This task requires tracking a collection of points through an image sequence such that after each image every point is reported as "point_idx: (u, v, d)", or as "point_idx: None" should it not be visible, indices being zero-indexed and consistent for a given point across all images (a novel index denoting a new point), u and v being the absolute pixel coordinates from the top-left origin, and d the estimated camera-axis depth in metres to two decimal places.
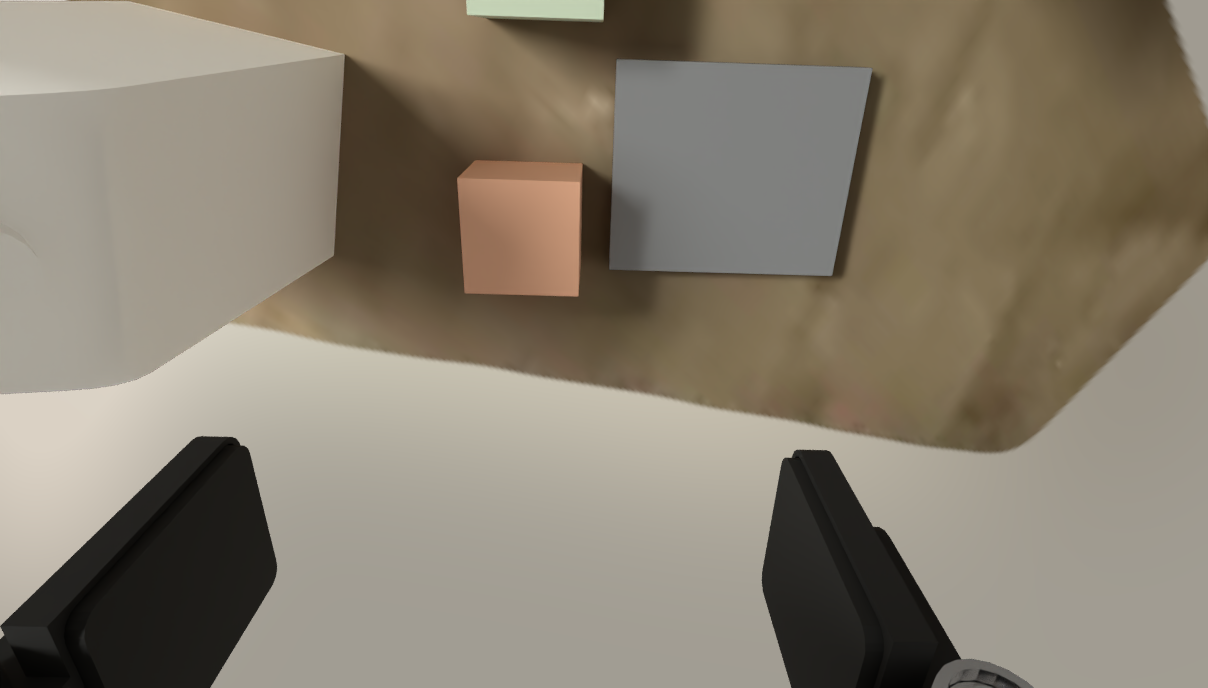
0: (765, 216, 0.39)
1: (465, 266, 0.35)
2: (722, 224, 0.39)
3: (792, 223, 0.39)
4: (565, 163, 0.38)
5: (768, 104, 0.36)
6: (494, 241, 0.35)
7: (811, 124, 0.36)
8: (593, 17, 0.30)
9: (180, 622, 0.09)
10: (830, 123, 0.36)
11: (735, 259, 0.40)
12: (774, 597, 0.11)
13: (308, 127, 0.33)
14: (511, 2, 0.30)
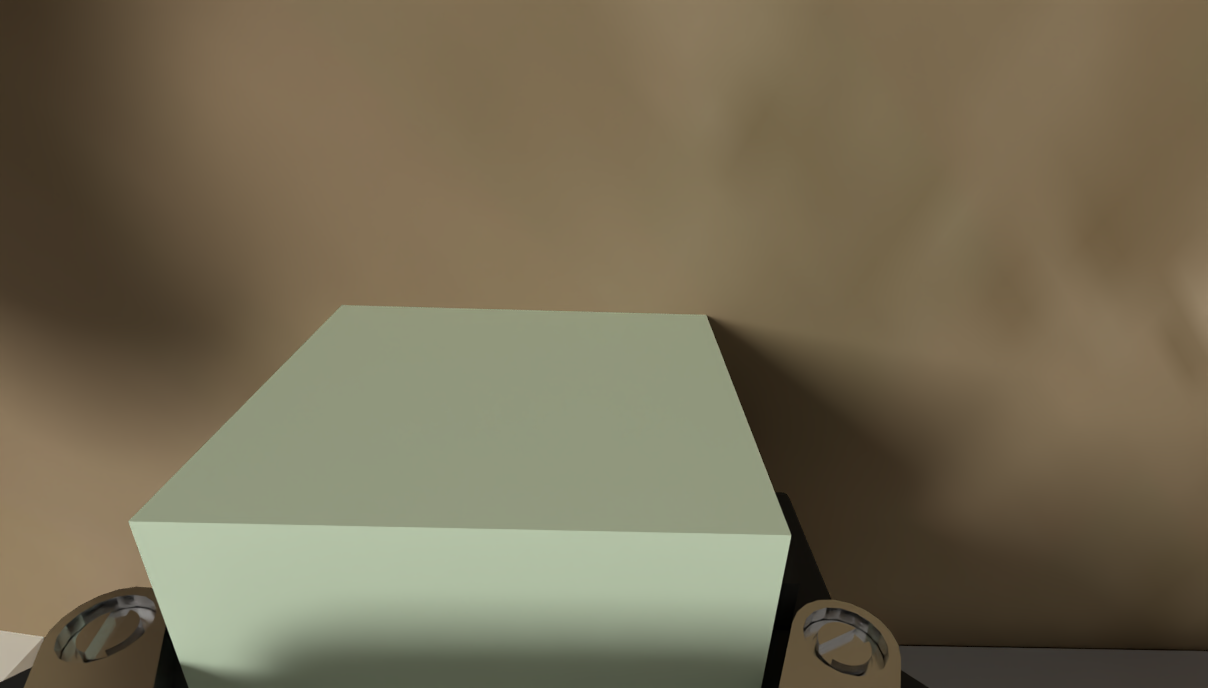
0: None
1: None
2: None
3: None
4: None
5: None
6: None
7: None
8: None
9: None
10: None
11: None
12: None
13: None
14: None
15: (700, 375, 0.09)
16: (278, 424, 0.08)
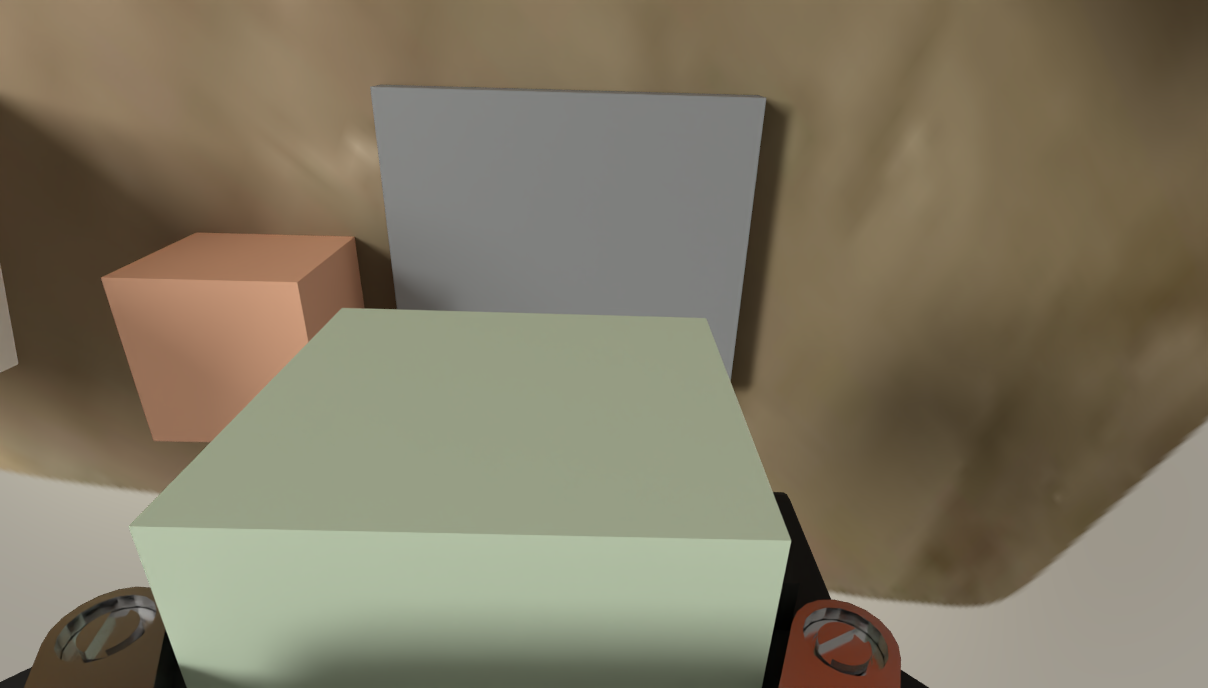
0: (624, 312, 0.26)
1: (145, 404, 0.23)
2: None
3: None
4: (327, 237, 0.26)
5: (611, 153, 0.24)
6: (181, 368, 0.22)
7: (680, 181, 0.24)
8: None
9: None
10: (708, 180, 0.24)
11: None
12: None
13: None
14: None
15: (700, 380, 0.09)
16: (279, 428, 0.08)
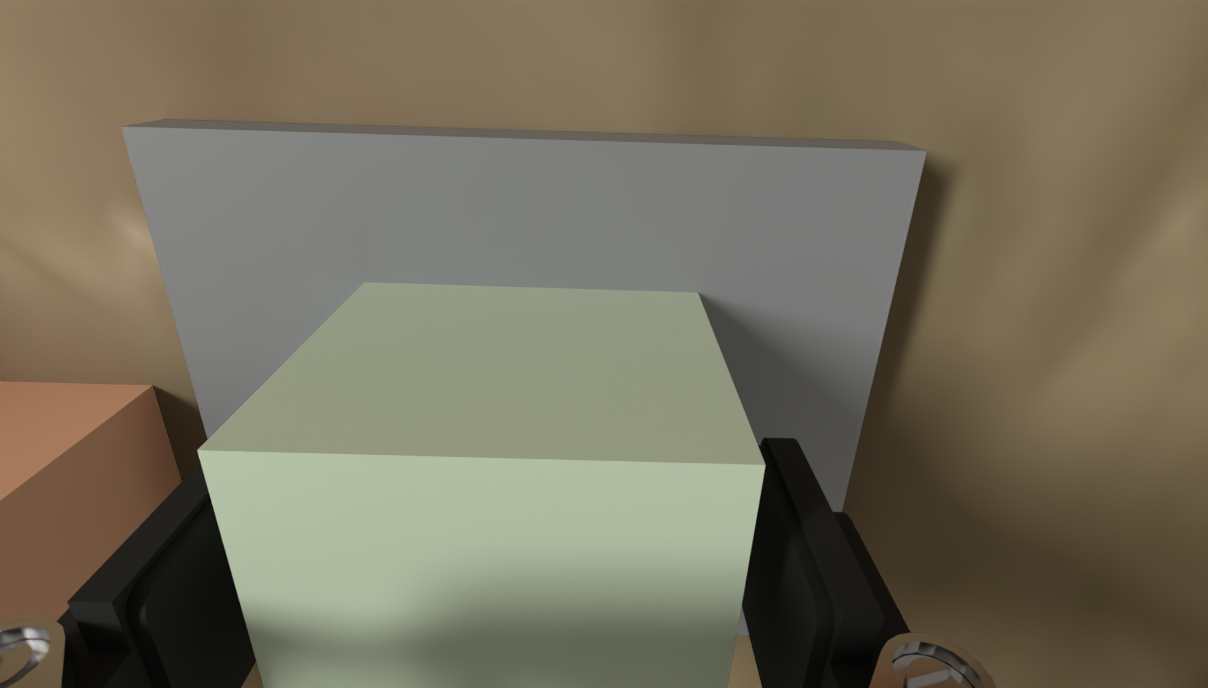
0: None
1: None
2: None
3: None
4: (101, 388, 0.14)
5: (614, 254, 0.12)
6: None
7: (744, 306, 0.12)
8: None
9: (226, 603, 0.09)
10: (800, 304, 0.12)
11: None
12: None
13: None
14: None
15: (690, 342, 0.10)
16: (317, 377, 0.09)
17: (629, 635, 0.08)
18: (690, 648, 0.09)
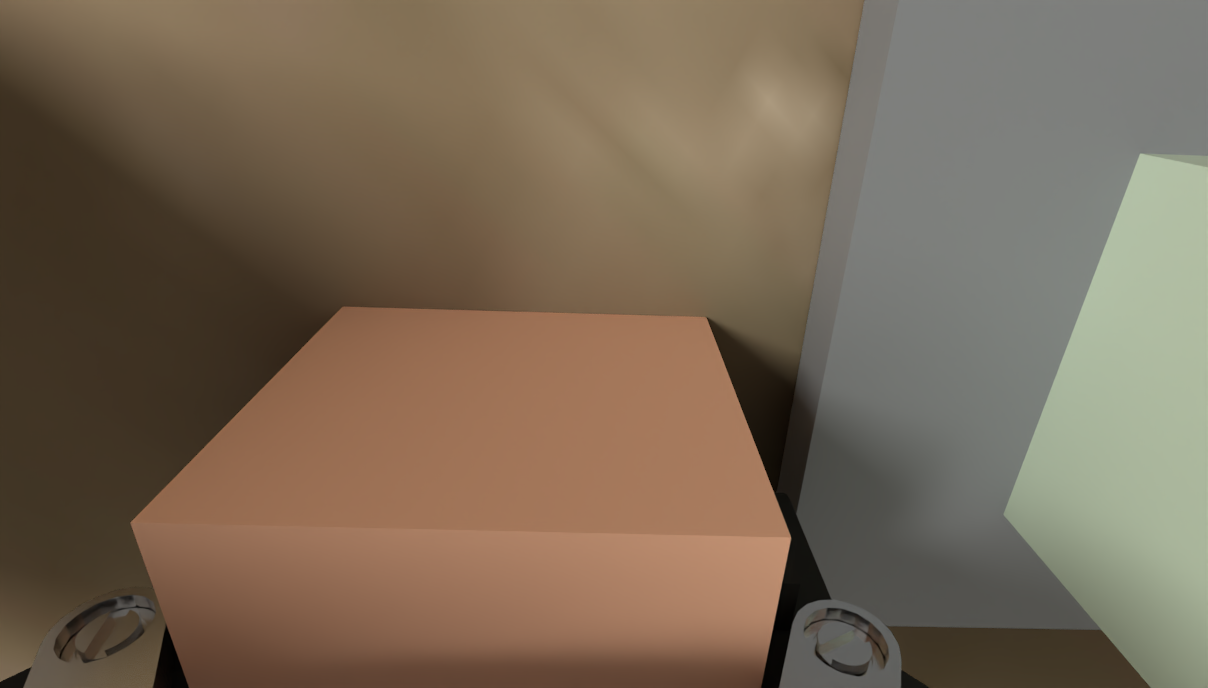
0: None
1: None
2: None
3: None
4: (650, 322, 0.11)
5: None
6: None
7: None
8: None
9: None
10: None
11: None
12: None
13: None
14: None
15: None
16: None
17: None
18: None
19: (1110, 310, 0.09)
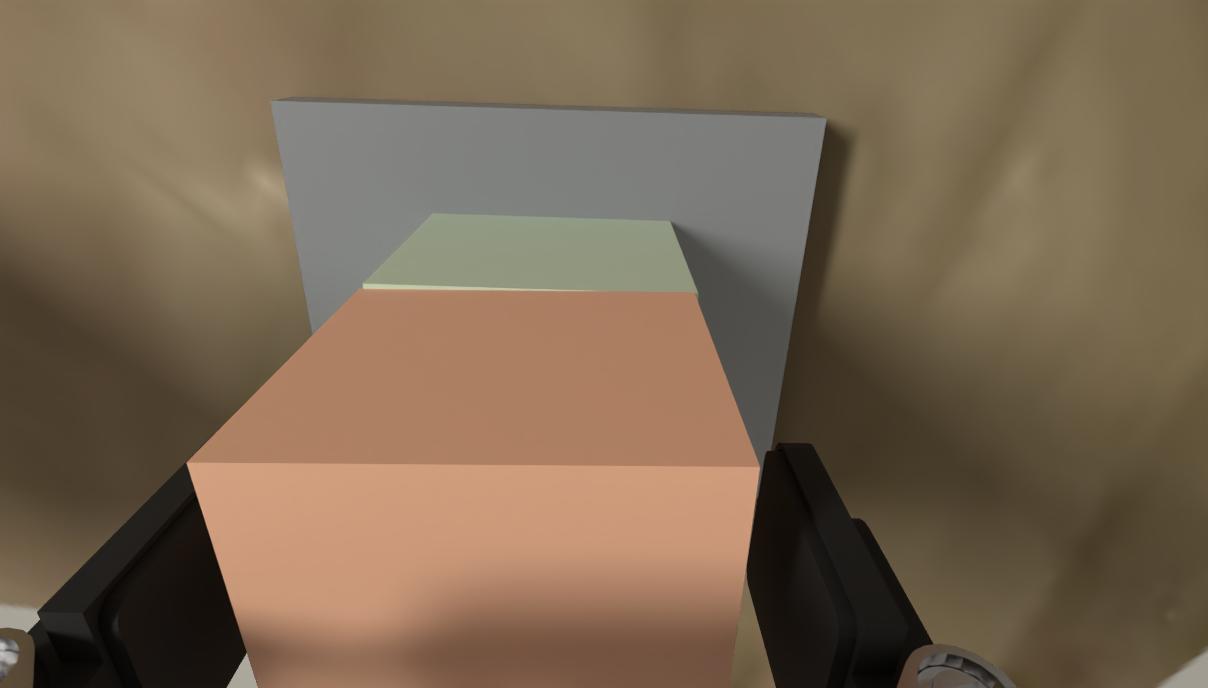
0: None
1: None
2: None
3: None
4: (642, 297, 0.12)
5: (610, 192, 0.17)
6: (386, 669, 0.09)
7: (703, 231, 0.17)
8: None
9: (205, 611, 0.09)
10: (743, 229, 0.17)
11: None
12: (758, 588, 0.11)
13: None
14: None
15: (661, 245, 0.15)
16: (419, 257, 0.14)
17: None
18: None
19: None
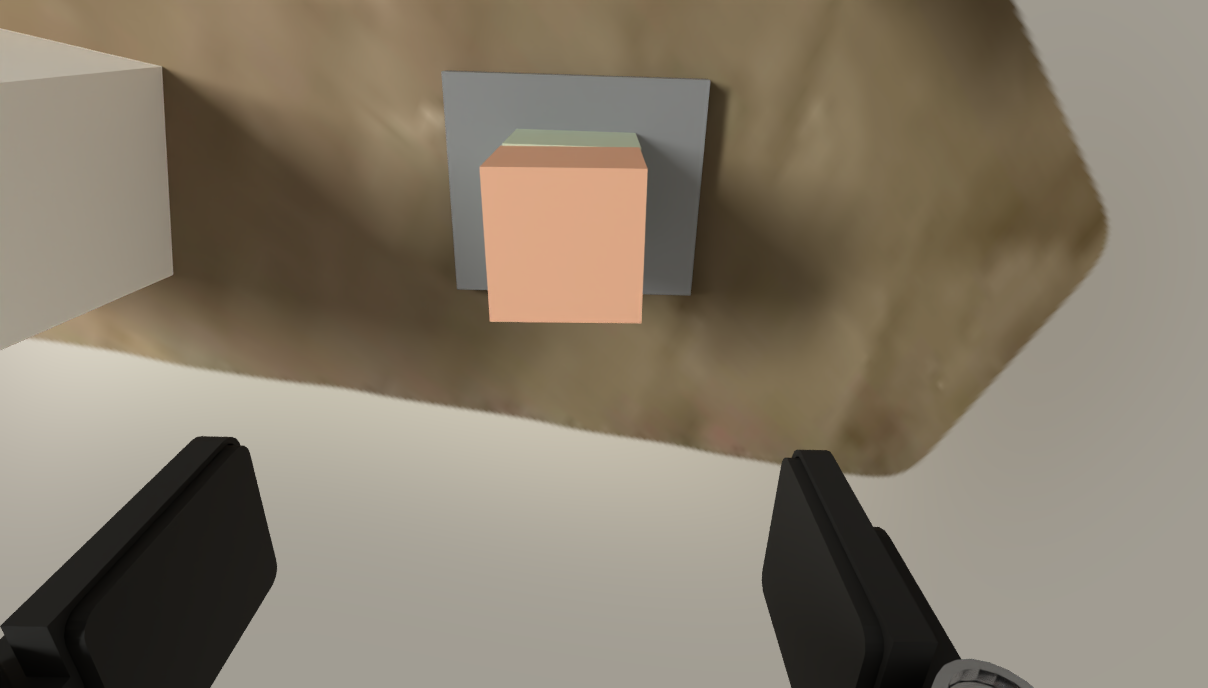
0: None
1: (490, 286, 0.26)
2: None
3: None
4: (617, 148, 0.29)
5: (605, 118, 0.34)
6: (529, 251, 0.26)
7: (652, 138, 0.35)
8: None
9: (180, 622, 0.09)
10: (672, 137, 0.35)
11: None
12: (774, 597, 0.11)
13: (109, 143, 0.32)
14: None
15: (629, 138, 0.32)
16: (520, 138, 0.31)
17: None
18: None
19: None
